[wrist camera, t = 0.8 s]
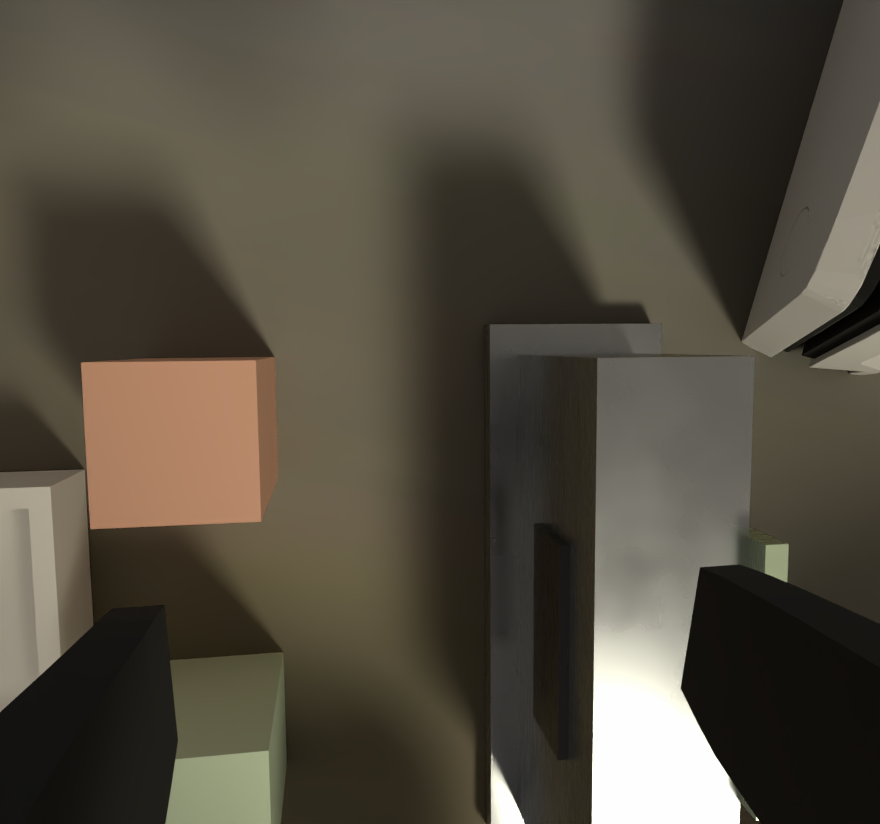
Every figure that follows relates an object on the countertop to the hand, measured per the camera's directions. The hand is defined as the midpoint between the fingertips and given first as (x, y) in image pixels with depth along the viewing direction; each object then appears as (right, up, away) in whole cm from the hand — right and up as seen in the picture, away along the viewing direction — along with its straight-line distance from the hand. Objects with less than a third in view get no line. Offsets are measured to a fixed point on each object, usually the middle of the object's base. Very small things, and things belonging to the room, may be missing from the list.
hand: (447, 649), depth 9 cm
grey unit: (+4, -3, +16) cm, 17 cm away
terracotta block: (-7, +3, +14) cm, 16 cm away
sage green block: (-7, -7, +15) cm, 18 cm away
